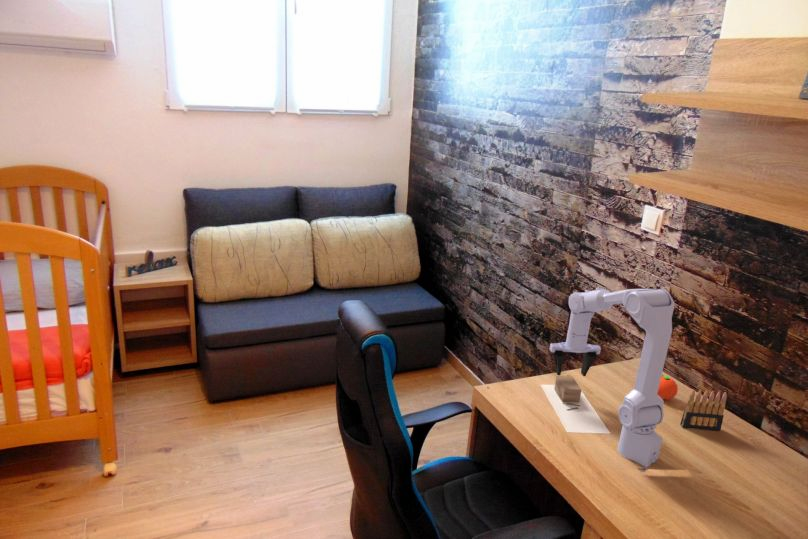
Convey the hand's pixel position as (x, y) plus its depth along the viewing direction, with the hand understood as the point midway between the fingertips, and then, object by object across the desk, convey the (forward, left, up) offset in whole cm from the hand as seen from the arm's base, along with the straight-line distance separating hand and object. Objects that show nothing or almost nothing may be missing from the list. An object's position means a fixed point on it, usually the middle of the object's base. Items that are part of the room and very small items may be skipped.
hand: (570, 374), depth 178 cm
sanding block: (0, 0, -8) cm, 8 cm away
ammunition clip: (-32, -20, -9) cm, 38 cm away
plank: (-5, +4, -9) cm, 11 cm away
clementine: (-17, -28, -9) cm, 34 cm away
